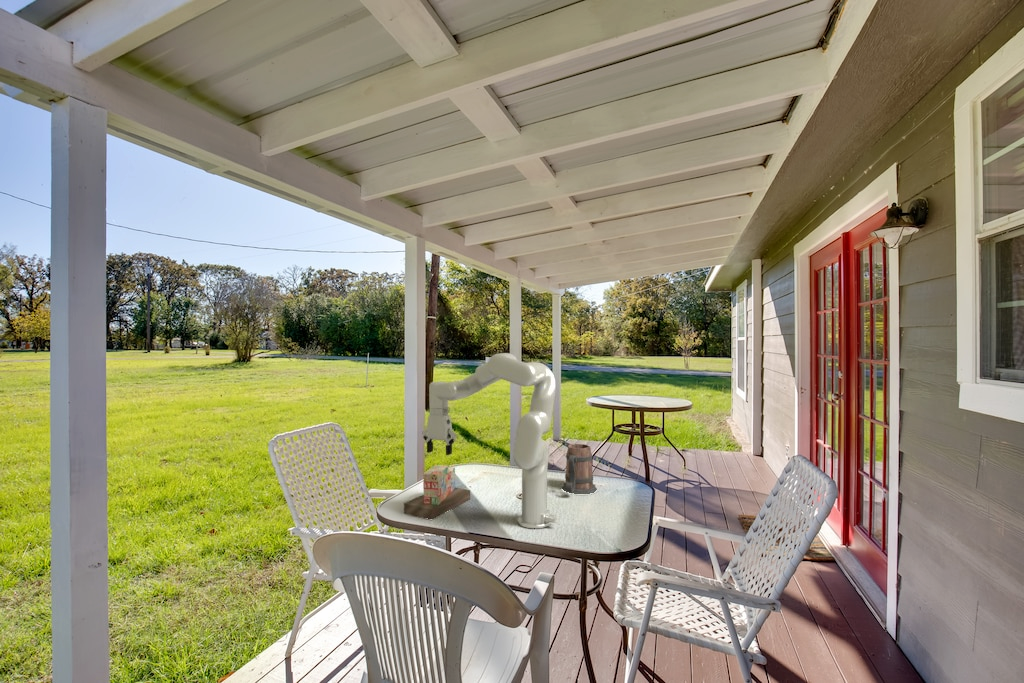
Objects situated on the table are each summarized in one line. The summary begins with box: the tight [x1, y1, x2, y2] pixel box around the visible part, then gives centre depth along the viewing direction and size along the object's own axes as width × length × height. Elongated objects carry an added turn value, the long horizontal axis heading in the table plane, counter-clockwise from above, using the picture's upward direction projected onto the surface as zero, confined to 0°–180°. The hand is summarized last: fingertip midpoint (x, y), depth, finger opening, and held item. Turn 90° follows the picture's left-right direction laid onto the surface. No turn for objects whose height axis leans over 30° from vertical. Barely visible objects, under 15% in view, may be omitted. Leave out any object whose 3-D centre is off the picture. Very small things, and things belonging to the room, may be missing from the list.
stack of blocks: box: [422, 464, 456, 505], centre depth 190 cm, size 21×6×12 cm, turn 169°
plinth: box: [403, 487, 471, 520], centre depth 189 cm, size 14×26×4 cm, turn 151°
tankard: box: [561, 443, 598, 494], centre depth 209 cm, size 24×17×20 cm
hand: (439, 453), depth 189 cm, fingers open, 9 cm apart
